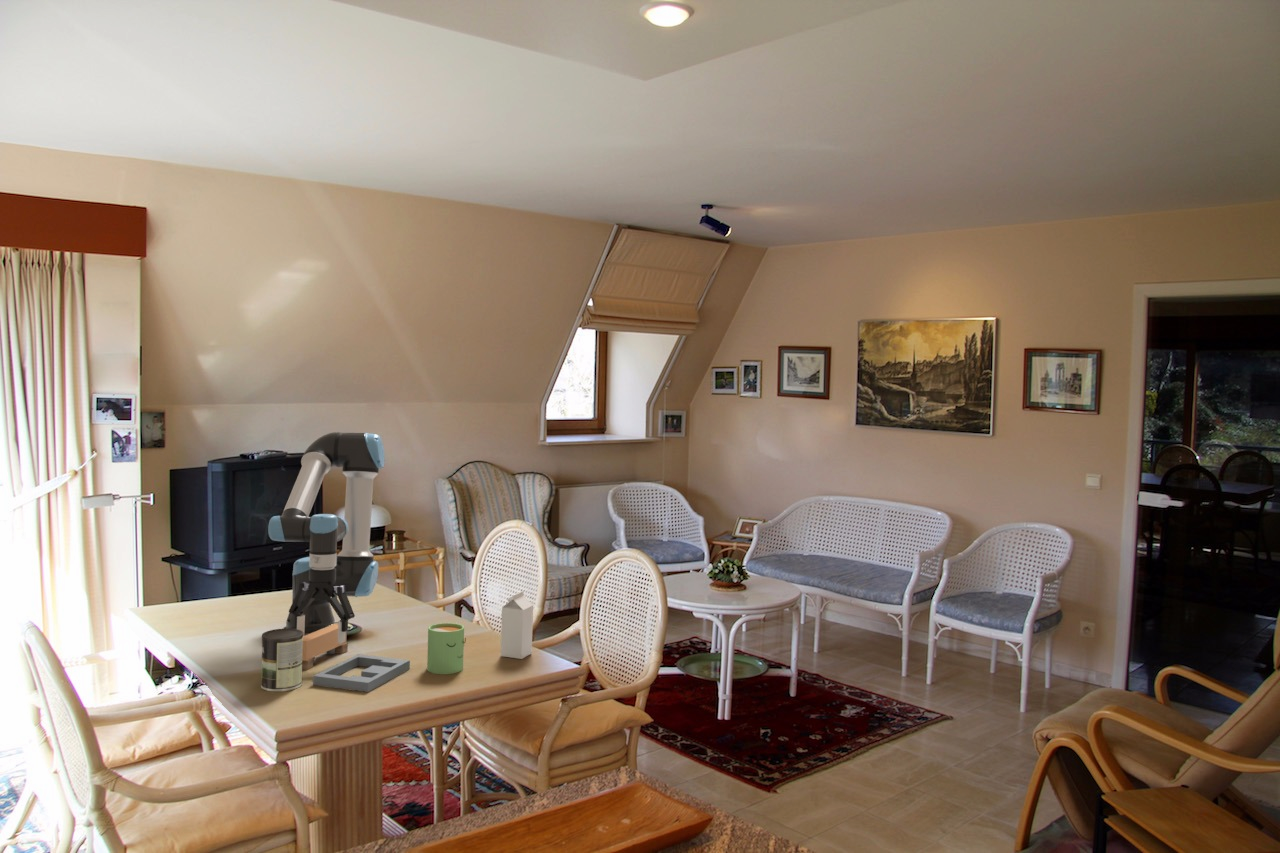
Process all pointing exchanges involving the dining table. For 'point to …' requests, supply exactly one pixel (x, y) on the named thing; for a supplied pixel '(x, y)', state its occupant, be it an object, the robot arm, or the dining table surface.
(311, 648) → the strip
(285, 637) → the coffee can
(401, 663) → the board with u-shaped cutout
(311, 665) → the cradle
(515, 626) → the milk carton
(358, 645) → the dining table surface
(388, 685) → the dining table surface
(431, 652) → the mug
